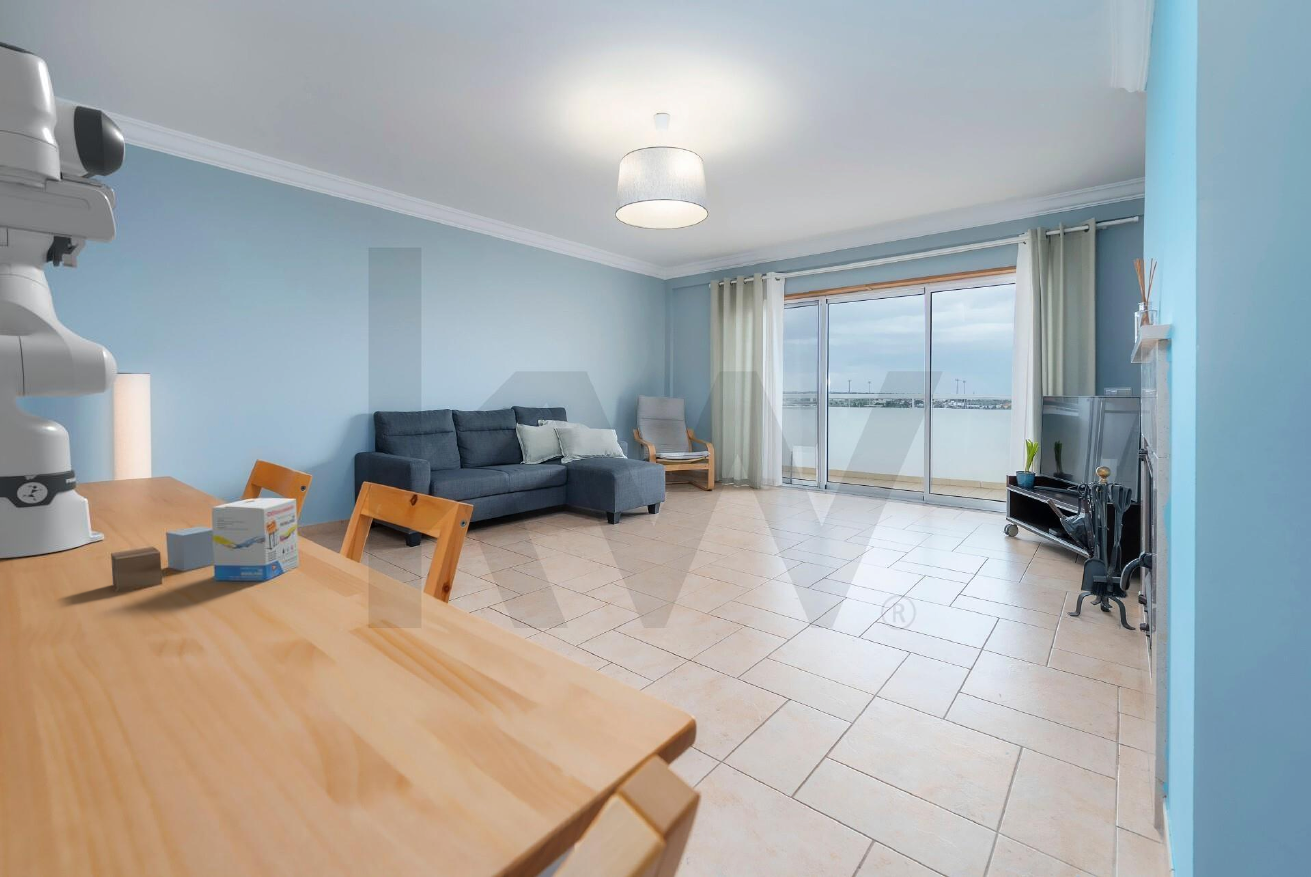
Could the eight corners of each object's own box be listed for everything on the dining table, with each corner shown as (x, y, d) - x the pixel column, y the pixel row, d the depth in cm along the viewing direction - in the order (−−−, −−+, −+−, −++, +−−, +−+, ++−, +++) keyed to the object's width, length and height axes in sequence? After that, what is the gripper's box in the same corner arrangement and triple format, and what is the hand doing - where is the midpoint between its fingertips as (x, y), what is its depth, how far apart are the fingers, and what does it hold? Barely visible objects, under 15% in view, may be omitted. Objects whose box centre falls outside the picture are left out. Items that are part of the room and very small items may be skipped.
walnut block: (113, 585, 90) (110, 553, 90) (155, 577, 94) (153, 546, 93) (118, 592, 87) (116, 559, 86) (162, 584, 90) (160, 552, 90)
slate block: (168, 567, 99) (166, 532, 98) (201, 559, 103) (200, 526, 103) (184, 571, 97) (182, 535, 96) (218, 563, 101) (216, 529, 101)
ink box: (266, 582, 92) (263, 507, 91) (212, 581, 92) (208, 506, 91) (301, 565, 100) (298, 497, 99) (251, 565, 100) (248, 496, 100)
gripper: (111, 187, 95) (116, 275, 96) (-95, 146, 79) (-86, 252, 80) (117, 178, 90) (123, 270, 92) (-99, 133, 75) (-89, 245, 76)
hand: (24, 262), depth 86 cm, fingers open, 8 cm apart
